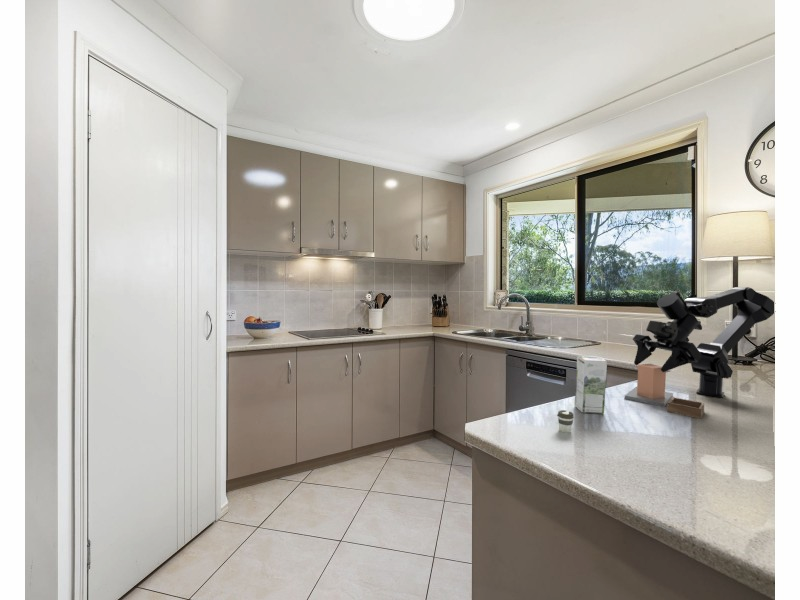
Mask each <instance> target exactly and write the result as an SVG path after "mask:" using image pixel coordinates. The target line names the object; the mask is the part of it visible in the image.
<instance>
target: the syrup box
mask: <svg viewBox="0 0 800 600" xmlns="http://www.w3.org/2000/svg"><path fill="white" fill-rule="evenodd" d="M607 366H608V362H607V360H606V359H604V358H603V357H601V356H591V355H590V356H587V355H585V356H582V355H577V357H576V371H575V373H576V375H575V376H576V377H575V395H574V396H575V397H574V406H575V407H576V408H577V410H579V412H581V414H582V413H585V414H600V415H604V414H605V406H606V405H605V404H606V403H605V402H606V387H607V386H606V384H607V369H608V367H607Z"/></svg>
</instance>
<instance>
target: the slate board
mask: <svg viewBox="0 0 800 600" xmlns="http://www.w3.org/2000/svg"><path fill="white" fill-rule="evenodd" d="M672 397H674V392H668V391H665V397H662V398H653V399H652V398H649V397H646V396H643V395H639V394H637V386H635V387H634V388H633V389H631V390H629V391H628V393H626V394H624V400H628V399H630V401H633V400H635V401H634V402H638V401H640V403H643V402H645V404H648V403H650V404H649V405H653V406H659V407H665V406H666V405H668V402H669V401H670V399H671V398H672Z"/></svg>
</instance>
